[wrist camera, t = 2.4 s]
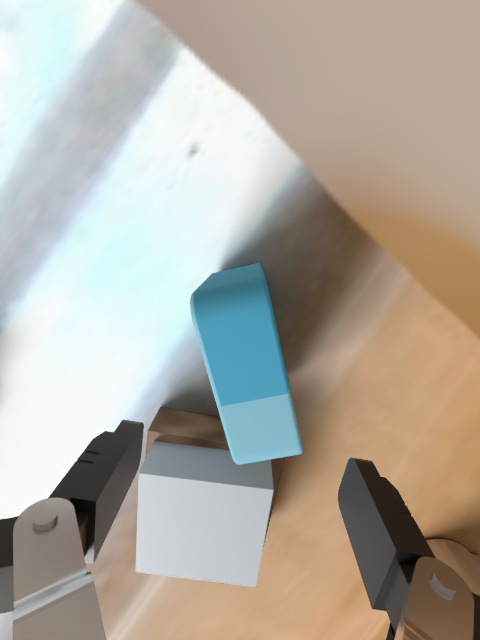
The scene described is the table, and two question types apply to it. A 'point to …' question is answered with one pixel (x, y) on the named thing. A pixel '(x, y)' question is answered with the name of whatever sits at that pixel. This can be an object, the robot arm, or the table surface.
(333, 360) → the table surface
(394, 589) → the robot arm
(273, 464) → the tower base block
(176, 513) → the tower top block
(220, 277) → the data package
